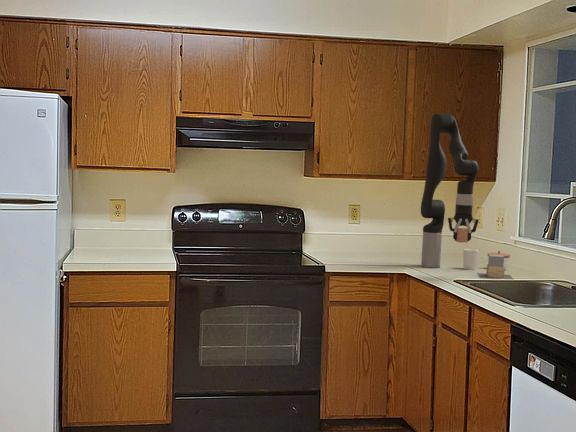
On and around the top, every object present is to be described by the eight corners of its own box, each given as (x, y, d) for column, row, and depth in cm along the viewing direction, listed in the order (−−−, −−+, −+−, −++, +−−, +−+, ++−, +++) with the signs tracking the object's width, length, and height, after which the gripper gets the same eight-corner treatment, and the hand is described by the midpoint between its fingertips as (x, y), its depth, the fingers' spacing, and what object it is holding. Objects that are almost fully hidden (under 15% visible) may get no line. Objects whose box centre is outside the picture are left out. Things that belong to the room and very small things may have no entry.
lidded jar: (511, 269, 372) (512, 250, 371) (506, 272, 362) (507, 252, 362) (490, 267, 377) (491, 248, 376) (484, 269, 368) (485, 250, 367)
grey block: (488, 264, 347) (488, 254, 346) (501, 264, 346) (502, 255, 345) (489, 265, 341) (490, 256, 340) (503, 266, 340) (504, 256, 339)
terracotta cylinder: (455, 240, 345) (456, 227, 345) (467, 241, 345) (467, 228, 344) (456, 242, 340) (457, 228, 340) (468, 242, 340) (469, 229, 339)
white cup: (458, 269, 367) (460, 248, 366) (472, 268, 370) (473, 248, 369) (468, 271, 360) (469, 251, 359) (482, 271, 362) (483, 250, 361)
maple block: (486, 274, 348) (487, 263, 347) (501, 275, 347) (502, 264, 346) (488, 276, 341) (488, 266, 340) (504, 277, 340) (504, 266, 339)
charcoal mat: (476, 274, 351) (476, 272, 351) (509, 276, 349) (509, 274, 349) (479, 279, 338) (480, 277, 338) (514, 281, 336) (514, 279, 336)
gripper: (479, 204, 344) (476, 240, 345) (447, 202, 345) (445, 238, 347) (481, 205, 336) (478, 242, 338) (448, 203, 338) (446, 240, 340)
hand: (461, 240), depth 342 cm, fingers closed on terracotta cylinder, 5 cm apart
